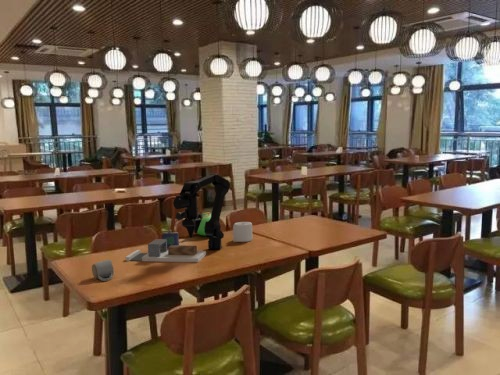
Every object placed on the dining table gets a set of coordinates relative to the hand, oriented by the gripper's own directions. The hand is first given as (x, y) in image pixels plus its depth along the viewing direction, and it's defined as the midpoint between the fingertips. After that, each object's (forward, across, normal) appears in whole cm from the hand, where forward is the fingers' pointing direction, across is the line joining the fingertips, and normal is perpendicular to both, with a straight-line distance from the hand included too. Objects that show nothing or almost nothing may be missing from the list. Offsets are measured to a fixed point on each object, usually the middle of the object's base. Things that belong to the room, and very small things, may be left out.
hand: (193, 235), depth 232 cm
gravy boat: (+12, -47, -6) cm, 49 cm away
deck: (+11, +4, -14) cm, 18 cm away
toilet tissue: (+12, -34, +20) cm, 42 cm away
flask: (+11, -15, -18) cm, 26 cm away
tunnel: (+9, +4, -19) cm, 21 cm away
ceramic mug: (+11, +37, -32) cm, 50 cm away
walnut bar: (+9, +4, -5) cm, 11 cm away
